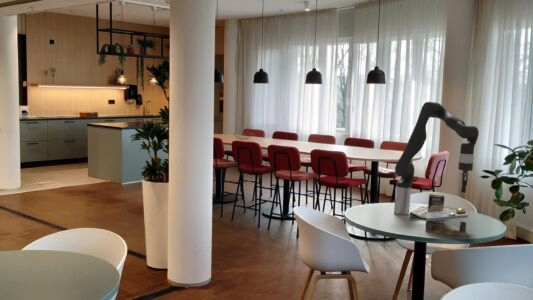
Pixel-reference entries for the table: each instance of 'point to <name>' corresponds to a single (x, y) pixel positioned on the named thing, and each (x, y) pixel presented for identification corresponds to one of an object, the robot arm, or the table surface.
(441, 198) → the coffee box
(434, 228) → the walnut base
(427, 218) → the level plate
